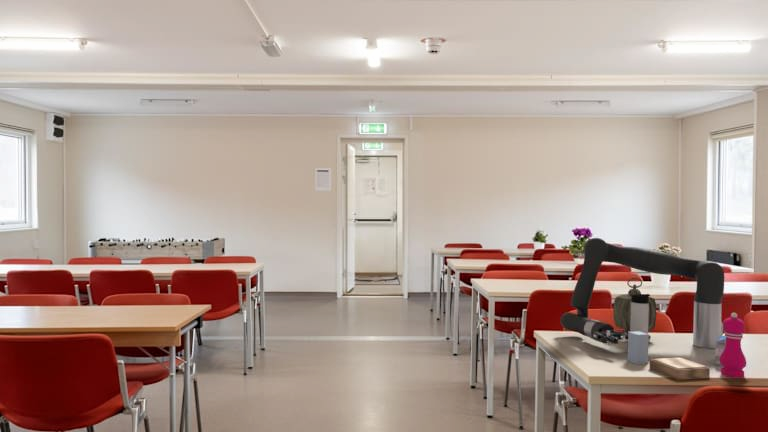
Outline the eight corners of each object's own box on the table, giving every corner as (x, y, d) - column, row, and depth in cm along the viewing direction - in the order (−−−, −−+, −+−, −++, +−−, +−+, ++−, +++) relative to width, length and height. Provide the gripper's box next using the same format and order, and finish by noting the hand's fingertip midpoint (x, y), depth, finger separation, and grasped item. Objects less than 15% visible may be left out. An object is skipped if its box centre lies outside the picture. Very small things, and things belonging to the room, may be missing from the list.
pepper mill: (746, 380, 170) (748, 315, 170) (719, 375, 174) (720, 313, 173) (745, 374, 176) (747, 312, 176) (719, 370, 180) (721, 309, 180)
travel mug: (650, 347, 209) (652, 295, 209) (632, 346, 211) (633, 294, 210) (646, 343, 215) (647, 293, 215) (628, 342, 217) (629, 292, 216)
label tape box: (718, 360, 193) (719, 325, 193) (732, 362, 191) (733, 327, 191) (714, 365, 186) (715, 329, 186) (728, 367, 184) (729, 331, 184)
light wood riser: (679, 367, 183) (680, 356, 183) (709, 377, 171) (709, 366, 171) (649, 368, 180) (649, 358, 180) (677, 379, 168) (677, 368, 168)
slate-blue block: (638, 359, 191) (639, 331, 191) (647, 363, 186) (648, 334, 186) (627, 360, 190) (628, 331, 190) (636, 364, 185) (637, 334, 185)
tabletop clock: (624, 341, 219) (626, 279, 219) (610, 336, 228) (612, 276, 228) (655, 340, 222) (657, 278, 222) (640, 335, 231) (641, 276, 231)
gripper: (582, 321, 207) (610, 331, 191) (615, 320, 210) (645, 329, 195) (582, 341, 207) (610, 352, 191) (614, 340, 211) (644, 350, 195)
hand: (627, 341), depth 193 cm, fingers open, 8 cm apart
